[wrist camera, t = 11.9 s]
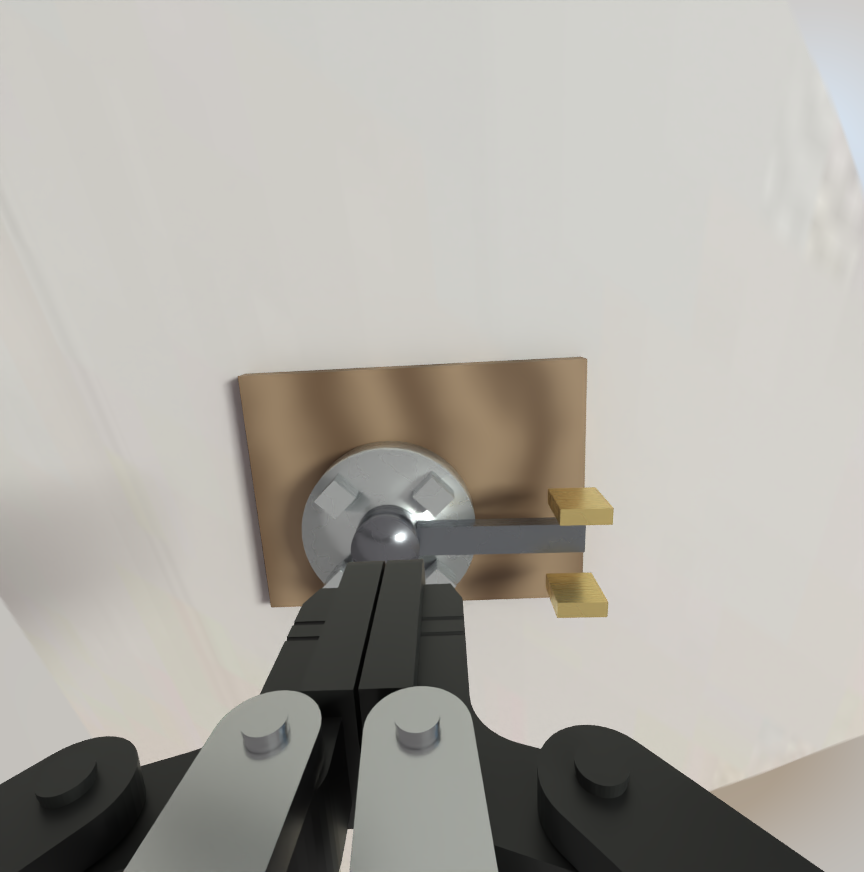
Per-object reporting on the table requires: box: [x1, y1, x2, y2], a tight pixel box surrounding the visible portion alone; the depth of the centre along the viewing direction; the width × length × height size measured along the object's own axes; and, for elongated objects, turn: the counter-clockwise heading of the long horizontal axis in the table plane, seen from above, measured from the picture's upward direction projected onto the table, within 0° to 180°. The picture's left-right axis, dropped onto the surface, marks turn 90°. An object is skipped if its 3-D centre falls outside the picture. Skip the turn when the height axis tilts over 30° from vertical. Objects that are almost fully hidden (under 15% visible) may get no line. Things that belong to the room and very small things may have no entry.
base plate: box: [238, 357, 587, 607], centre depth 37 cm, size 24×18×2 cm
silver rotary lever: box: [302, 441, 614, 618], centre depth 33 cm, size 12×20×7 cm, turn 92°
